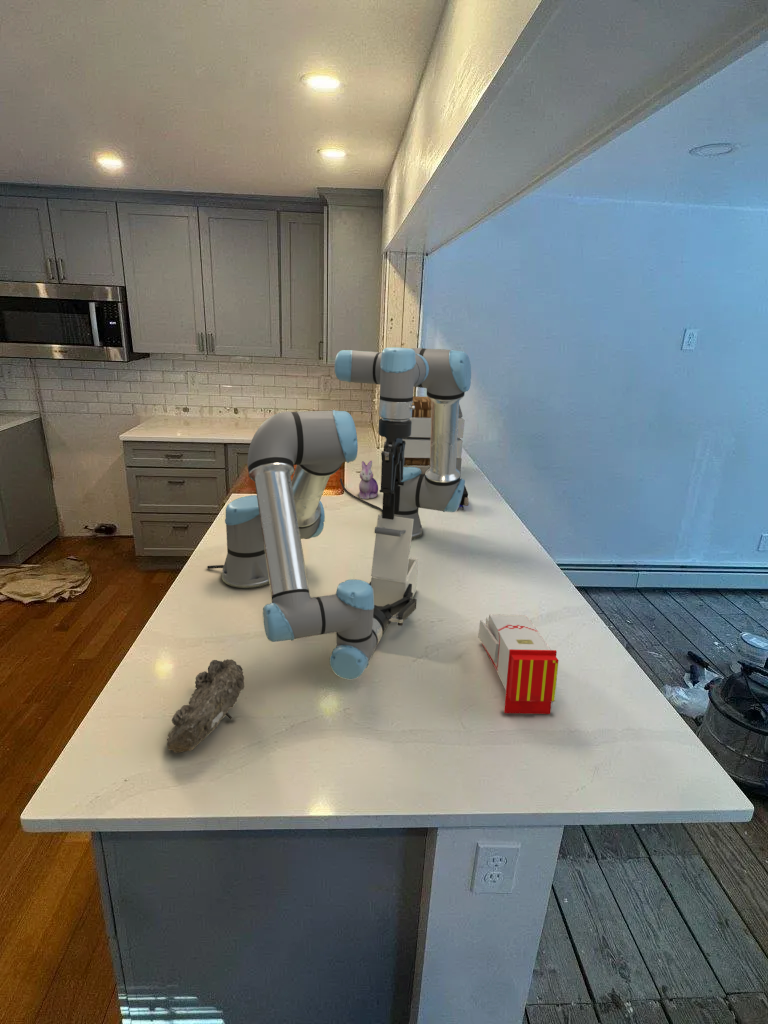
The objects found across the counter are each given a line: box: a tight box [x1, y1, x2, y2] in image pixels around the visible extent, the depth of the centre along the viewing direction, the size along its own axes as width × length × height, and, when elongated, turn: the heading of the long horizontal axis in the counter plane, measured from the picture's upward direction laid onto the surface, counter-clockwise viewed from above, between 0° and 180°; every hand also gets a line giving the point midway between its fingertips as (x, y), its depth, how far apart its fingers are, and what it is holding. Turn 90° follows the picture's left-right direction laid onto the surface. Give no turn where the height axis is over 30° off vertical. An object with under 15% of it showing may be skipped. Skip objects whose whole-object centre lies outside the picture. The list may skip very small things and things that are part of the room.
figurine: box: [358, 460, 379, 500], centre depth 236 cm, size 9×10×15 cm
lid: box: [370, 514, 414, 582], centre depth 139 cm, size 16×9×8 cm
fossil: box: [166, 658, 245, 754], centre depth 106 cm, size 22×10×15 cm
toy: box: [477, 613, 560, 715], centre depth 124 cm, size 12×13×30 cm
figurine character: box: [458, 485, 470, 511], centre depth 230 cm, size 7×8×15 cm
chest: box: [370, 557, 419, 616], centre depth 152 cm, size 15×9×10 cm, turn 165°
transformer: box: [383, 395, 465, 475], centre depth 268 cm, size 34×33×41 cm
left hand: (392, 585), depth 149 cm, fingers closed on chest, 9 cm apart
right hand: (390, 514), depth 137 cm, fingers open, 5 cm apart
